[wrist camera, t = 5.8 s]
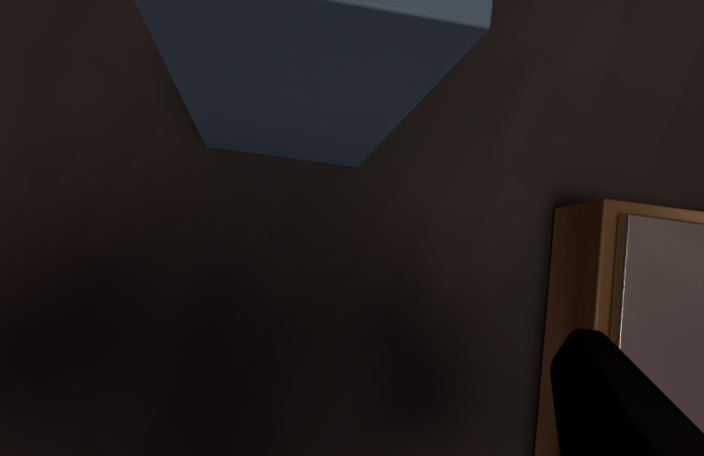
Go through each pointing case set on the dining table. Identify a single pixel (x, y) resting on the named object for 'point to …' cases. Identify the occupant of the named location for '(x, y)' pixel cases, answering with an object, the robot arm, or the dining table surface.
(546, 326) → the stand
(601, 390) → the robot arm
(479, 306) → the dining table surface
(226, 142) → the packet
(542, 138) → the dining table surface
